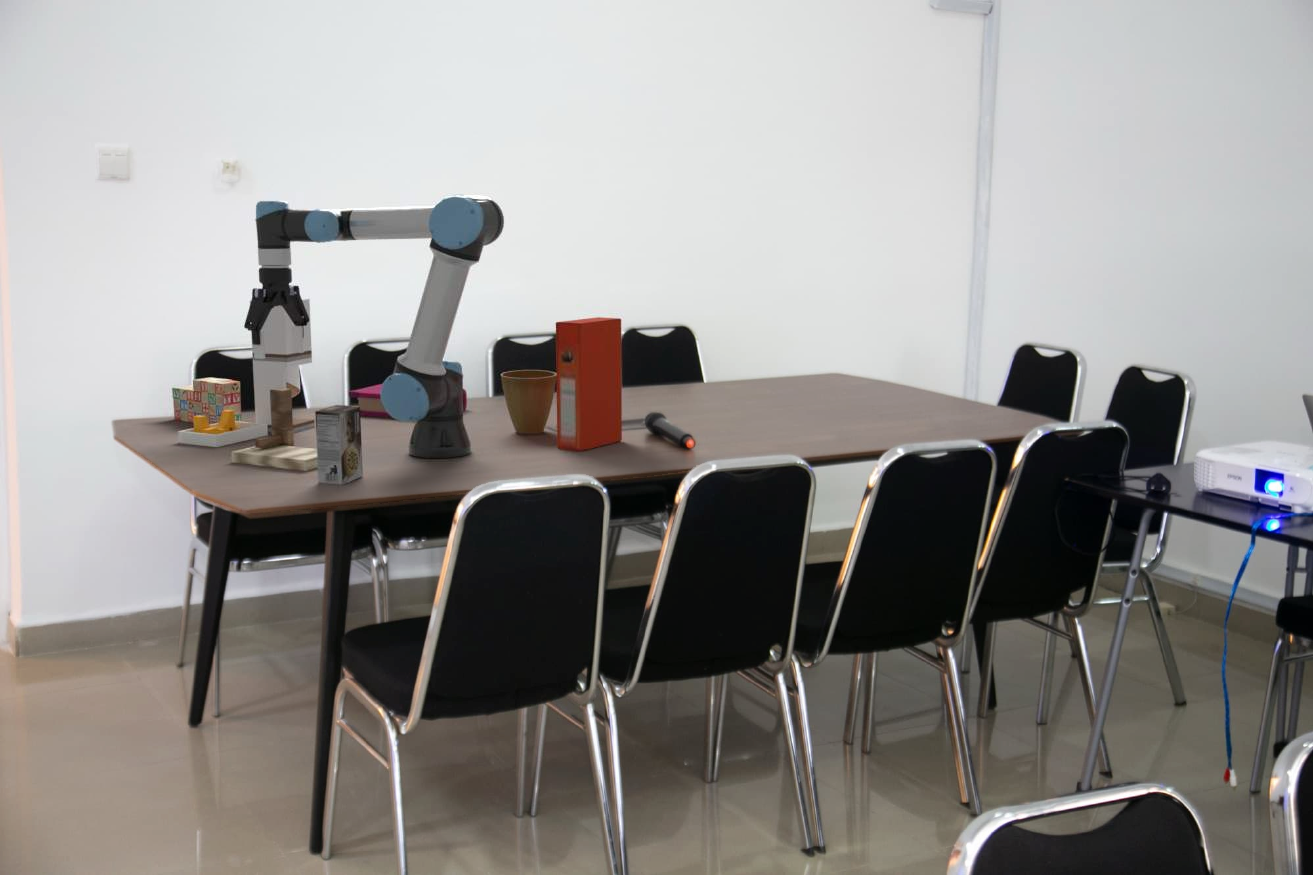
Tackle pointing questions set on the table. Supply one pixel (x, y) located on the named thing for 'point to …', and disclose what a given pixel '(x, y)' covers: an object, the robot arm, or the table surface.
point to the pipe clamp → (222, 427)
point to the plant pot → (529, 398)
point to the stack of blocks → (207, 399)
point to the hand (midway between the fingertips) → (279, 355)
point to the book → (378, 401)
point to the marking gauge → (279, 420)
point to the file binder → (588, 383)
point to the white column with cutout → (280, 364)
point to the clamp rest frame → (224, 435)
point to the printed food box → (339, 444)
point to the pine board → (278, 457)
